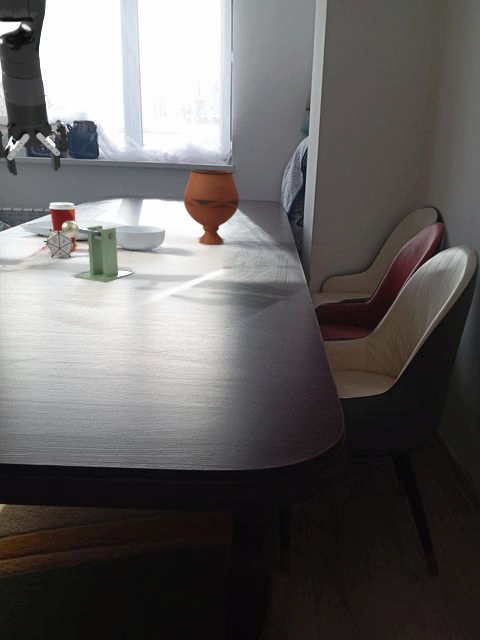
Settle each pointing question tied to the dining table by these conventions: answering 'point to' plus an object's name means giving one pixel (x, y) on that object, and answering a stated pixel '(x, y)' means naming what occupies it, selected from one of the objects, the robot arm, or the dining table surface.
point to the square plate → (44, 226)
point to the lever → (78, 230)
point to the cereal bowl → (139, 237)
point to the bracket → (103, 256)
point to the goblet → (211, 201)
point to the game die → (59, 243)
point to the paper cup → (62, 216)
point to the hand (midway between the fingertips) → (34, 171)
